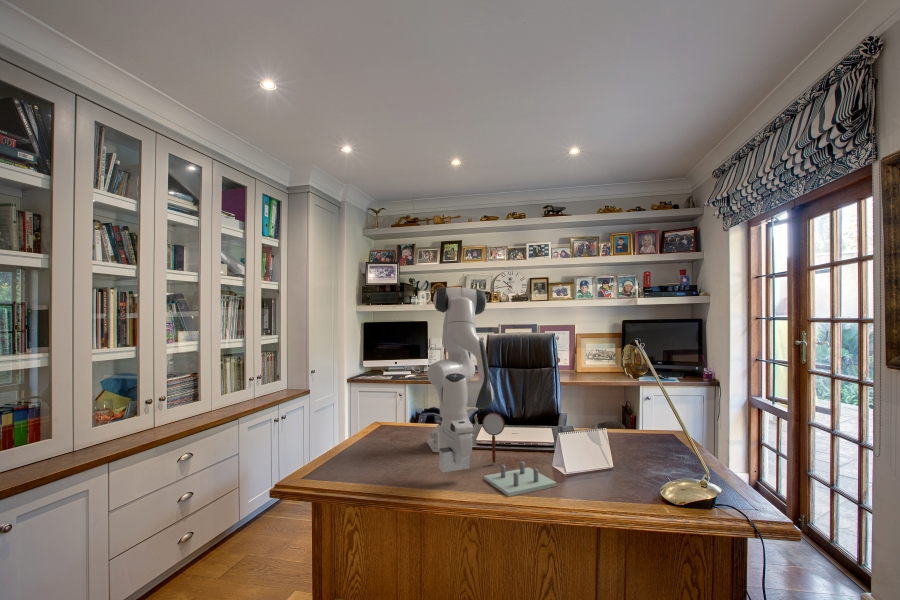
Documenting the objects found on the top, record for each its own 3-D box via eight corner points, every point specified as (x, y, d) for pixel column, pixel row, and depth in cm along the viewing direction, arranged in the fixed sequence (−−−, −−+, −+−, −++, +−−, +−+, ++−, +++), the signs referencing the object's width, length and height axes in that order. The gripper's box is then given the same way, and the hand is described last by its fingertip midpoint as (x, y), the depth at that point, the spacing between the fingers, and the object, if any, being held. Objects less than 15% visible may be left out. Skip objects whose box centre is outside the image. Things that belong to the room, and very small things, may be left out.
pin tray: (484, 479, 148) (483, 464, 148) (528, 470, 156) (528, 456, 156) (508, 496, 133) (508, 480, 134) (556, 486, 141) (556, 470, 141)
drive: (439, 468, 145) (439, 448, 145) (465, 464, 149) (465, 445, 149) (442, 472, 142) (443, 451, 142) (469, 468, 146) (469, 448, 146)
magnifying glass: (482, 464, 163) (481, 412, 163) (483, 463, 164) (482, 411, 165) (504, 466, 160) (503, 413, 161) (505, 465, 162) (504, 412, 163)
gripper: (436, 415, 154) (435, 452, 154) (458, 430, 135) (457, 473, 135) (451, 413, 157) (451, 450, 156) (475, 428, 138) (475, 470, 138)
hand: (454, 461), depth 146 cm, fingers closed on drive, 3 cm apart
